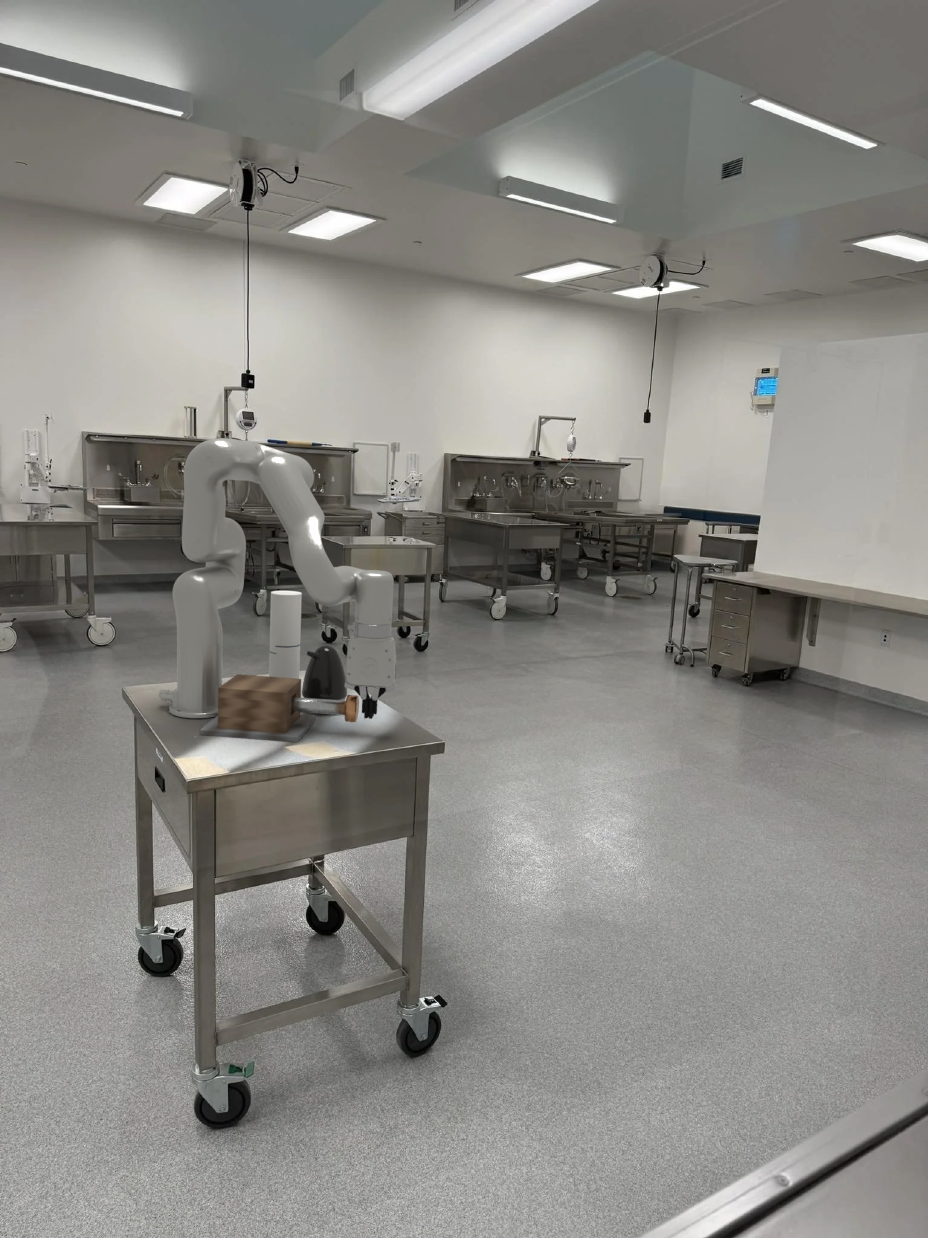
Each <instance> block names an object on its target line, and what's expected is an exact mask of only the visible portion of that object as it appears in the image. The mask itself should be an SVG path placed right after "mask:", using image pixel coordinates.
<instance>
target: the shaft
mask: <svg viewBox="0 0 928 1238" xmlns="http://www.w3.org/2000/svg"><path fill="white" fill-rule="evenodd" d="M291 711H295V712H300V713H309V714H310V713H312V714H321V715H325V714H326V715H336V716H344V721H345V722H347V723H357V721H358V717H359V711H360V696H359V695H358V694H347V696H346V697H345V701H341V700H328V699H314V698H304V697H302V696H301V697H291Z"/></svg>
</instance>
